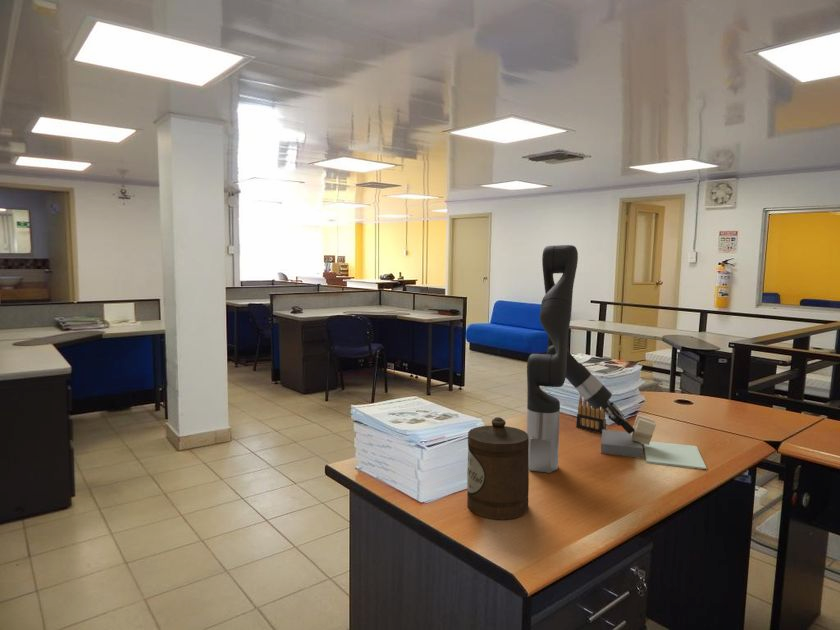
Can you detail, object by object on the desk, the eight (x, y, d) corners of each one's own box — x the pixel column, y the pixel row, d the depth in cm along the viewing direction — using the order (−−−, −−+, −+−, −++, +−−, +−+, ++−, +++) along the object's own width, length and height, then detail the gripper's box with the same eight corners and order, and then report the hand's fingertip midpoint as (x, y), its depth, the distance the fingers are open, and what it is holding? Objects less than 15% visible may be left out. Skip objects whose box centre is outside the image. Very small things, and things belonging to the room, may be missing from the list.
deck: (642, 457, 164) (642, 448, 163) (600, 453, 168) (601, 443, 167) (639, 441, 179) (640, 433, 178) (602, 437, 183) (602, 429, 182)
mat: (706, 469, 154) (706, 467, 154) (646, 462, 160) (646, 460, 159) (696, 447, 173) (696, 446, 173) (643, 442, 178) (643, 440, 178)
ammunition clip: (576, 427, 195) (577, 395, 194) (578, 426, 196) (579, 394, 195) (603, 434, 187) (604, 400, 186) (605, 432, 188) (607, 399, 187)
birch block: (648, 445, 168) (655, 424, 167) (632, 439, 169) (639, 419, 168) (646, 439, 174) (653, 419, 172) (630, 433, 175) (637, 414, 174)
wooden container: (467, 492, 139) (468, 409, 137) (525, 494, 137) (527, 411, 135) (466, 518, 124) (467, 426, 122) (531, 522, 122) (533, 428, 120)
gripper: (601, 388, 167) (642, 430, 164) (602, 379, 180) (640, 418, 177) (583, 403, 170) (623, 445, 167) (585, 394, 182) (622, 432, 179)
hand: (631, 431), depth 172 cm, fingers closed
